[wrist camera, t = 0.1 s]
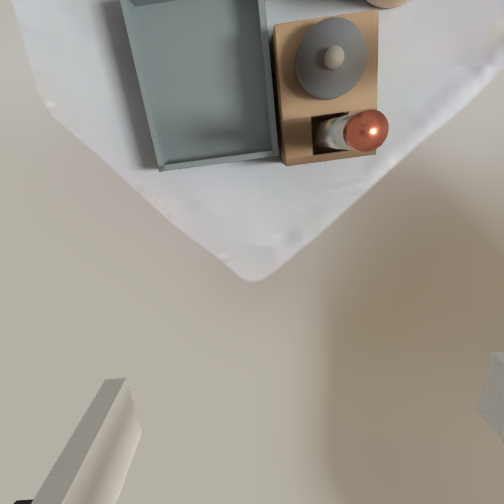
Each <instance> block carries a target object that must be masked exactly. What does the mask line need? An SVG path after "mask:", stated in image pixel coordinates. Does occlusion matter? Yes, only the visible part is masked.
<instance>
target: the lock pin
mask: <svg viewBox="0 0 504 504" xmlns="http://www.w3.org/2000/svg"><path fill="white" fill-rule="evenodd" d="M311 129H312V144H313V145H315V146H317V147H325V148H335V149H344V150H354V151H365V152H368V151H372V150H375V149H377V148H378V147H379V146H381V145H382V144H383V142H384V141H385V139H386V137H387V134H388V129H389V128H388V121H387V119H386V117H385V116H384V114H382V113H381V112H380V111H377V110H372V109H371V110H365V111H361V112H357V113H353V114H349V115H345V116H341V117H337V118H333V119H329V120H325V121H321V122H318V123H316V124H314V125H313V126H312V128H311Z"/></svg>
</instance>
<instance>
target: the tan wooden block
mask: <svg viewBox="0 0 504 504" xmlns="http://www.w3.org/2000/svg"><path fill="white" fill-rule="evenodd" d="M378 16H379V9H377V10H370V11H363V12H357V13H350V14H343V15H337V16H330V17H323V18H316V19H310V20H303V21H296V22H290V23H283V24H276V25H275V26H274V31H273V35H272V39H271V50H272V61H273V72H274V83H275V94H276V106H277V117H278V128H279V139H280V151H281V162H282V163H283V164H284V165H286V166H292V165H299V164H307V163H314V162H322V161H329V160H337V159H344V158H352V157H359V156H367V155H374V154H376V149H375V150H372V151H368V152H365V151H354V150H344V149H335V148H325V147H317V146H315V145H313V144H312V129H311V128H312V126H313V125H314V124H316V123H318V122H321V121H325V120H329V119H333V118H337V117H341V116H345V115H349V114H353V113H357V112H361V111H365V110H371V109H372V110H377V71H378Z"/></svg>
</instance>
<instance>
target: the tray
mask: <svg viewBox="0 0 504 504" xmlns="http://www.w3.org/2000/svg"><path fill="white" fill-rule="evenodd" d="M120 4H121V8H122V12H123V17H124V21H125V25H126V30H127V34H128V38H129V43H130V47H131V51H132V56H133V60H134V64H135V68H136V73H137V77H138V81H139V86H140V90H141V94H142V99H143V103H144V107H145V112H146V116H147V120H148V125H149V129H150V133H151V138H152V142H153V146H154V151H155V155H156V159H157V164H158V168H159V172H161V171H168V170H176V169H183V168H190V167H198V166H205V165H213V164H220V163H228V162H235V161H243V160H250V159H257V158H265V157H272V156H279V150H278V140H277V129H276V118H275V107H274V96H273V85H272V74H271V63H270V52H269V41H268V30H267V19H266V8H265V0H120Z"/></svg>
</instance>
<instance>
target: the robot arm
mask: <svg viewBox="0 0 504 504" xmlns="http://www.w3.org/2000/svg"><path fill="white" fill-rule="evenodd" d="M477 411H478V412H479V413H480V414H481V415H482V417H483V418H484V419H485V420H486V421H487V423H488V424H489V425H490V426H491V427H492V428H493V430H494V431H495V432H496V433H497V434H498V436H499V437H500V438H501V439H502V440H503V442H504V351H500V352H491V355H490V359H489V363H488V367H487V371H486V375H485V379H484V383H483V387H482V391H481V395H480V399H479V403H478V407H477ZM141 434H142V431H141V428H140V424H139V421H138V417H137V414H136V410H135V407H134V404H133V400H132V397H131V394H130V390H129V386H128V383H127V380H126V378H121V379H107V380H105V381H104V383H103V384H102V386H101V388H100V389H99V391H98V393H97V394H96V396H95V398H94V399H93V401H92V403H91V404H90V406H89V408H88V410H87V411H86V413H85V414H84V416H83V418H82V420H81V421H80V423H79V424H78V426H77V428H76V429H75V431H74V433H73V434H72V436H71V438H70V439H69V441H68V443H67V445H66V446H65V448H64V450H63V451H62V453H61V455H60V456H59V458H58V460H57V461H56V463H55V465H54V466H53V468H52V470H51V471H50V473H49V475H48V476H47V478H46V480H45V481H44V483H43V485H42V486H41V488H40V490H39V491H38V493H37V495H36V497H35V498H34V500H20V501H16V502H15V503H14V504H116V503H117V500H118V497H119V494H120V492H121V489H122V486H123V483H124V480H125V478H126V475H127V472H128V470H129V467H130V464H131V461H132V459H133V456H134V453H135V450H136V448H137V445H138V442H139V439H140V436H141Z"/></svg>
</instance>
